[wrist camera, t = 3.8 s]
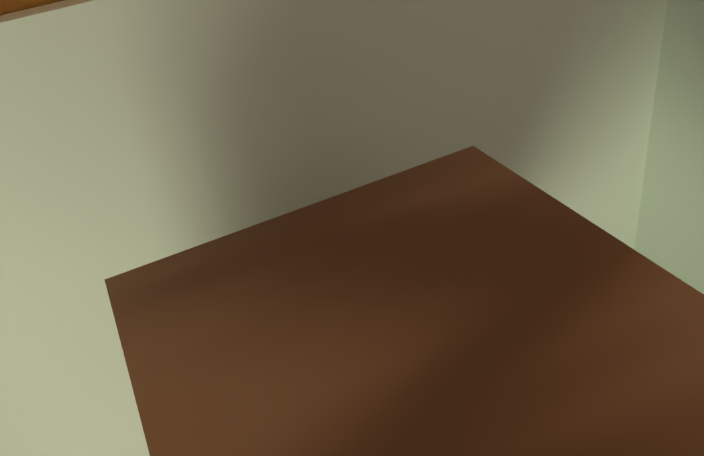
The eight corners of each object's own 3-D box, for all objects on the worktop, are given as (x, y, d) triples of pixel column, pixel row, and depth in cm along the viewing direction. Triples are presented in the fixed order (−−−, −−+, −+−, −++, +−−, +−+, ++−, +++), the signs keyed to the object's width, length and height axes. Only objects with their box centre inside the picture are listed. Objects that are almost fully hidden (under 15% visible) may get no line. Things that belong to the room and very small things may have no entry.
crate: (719, -155, 11) (923, -151, 9) (640, 353, 18) (743, 435, 16) (-756, 193, 6) (-1272, 441, 4) (-89, 725, 13) (-108, 939, 10)
